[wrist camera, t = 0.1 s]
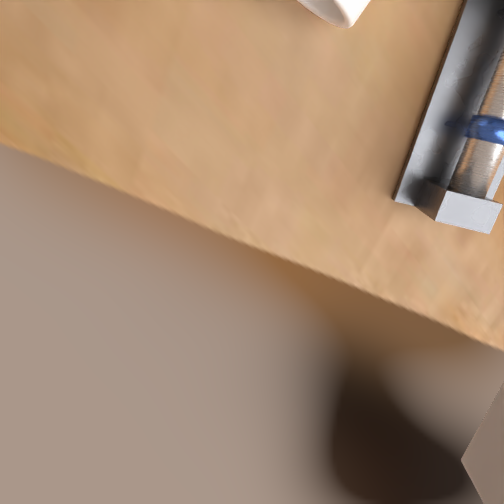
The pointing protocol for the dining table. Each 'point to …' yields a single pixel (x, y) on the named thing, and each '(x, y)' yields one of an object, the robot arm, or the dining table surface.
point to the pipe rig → (462, 126)
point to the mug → (336, 10)
